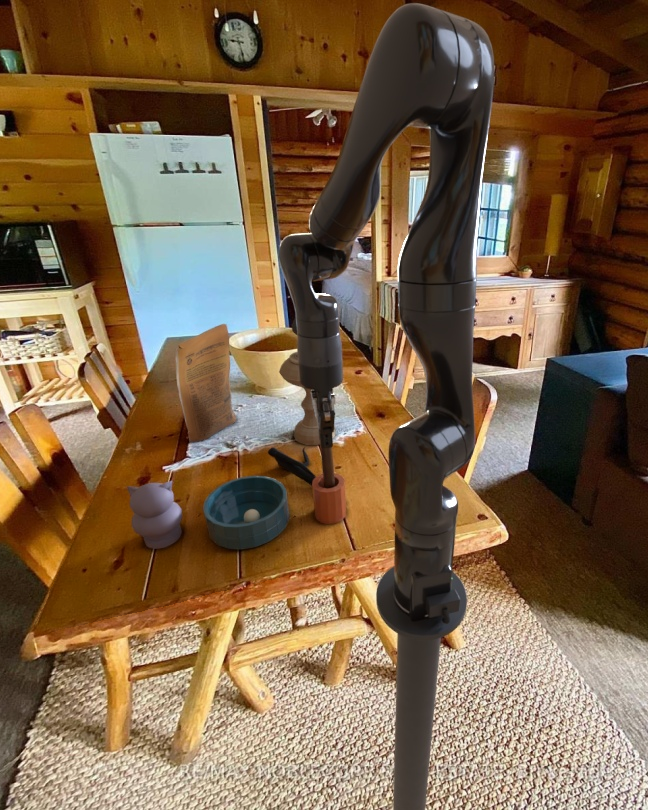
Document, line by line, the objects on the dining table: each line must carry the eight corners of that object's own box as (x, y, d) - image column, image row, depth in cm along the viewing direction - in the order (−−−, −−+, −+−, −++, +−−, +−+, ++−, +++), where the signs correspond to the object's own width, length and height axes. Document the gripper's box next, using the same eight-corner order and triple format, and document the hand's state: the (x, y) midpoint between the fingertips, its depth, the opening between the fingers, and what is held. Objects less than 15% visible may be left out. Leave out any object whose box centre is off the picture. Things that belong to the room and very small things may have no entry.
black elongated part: (364, 466, 94) (290, 422, 108) (336, 494, 90) (262, 445, 103) (370, 488, 100) (299, 444, 113) (344, 516, 95) (273, 467, 109)
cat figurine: (132, 555, 80) (114, 503, 74) (144, 526, 87) (128, 476, 81) (183, 548, 82) (169, 496, 76) (190, 519, 89) (178, 470, 83)
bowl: (291, 543, 83) (288, 518, 80) (204, 558, 80) (198, 533, 77) (287, 493, 96) (285, 471, 94) (213, 504, 93) (208, 481, 90)
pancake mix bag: (250, 417, 127) (236, 323, 115) (198, 449, 112) (175, 344, 99) (232, 412, 130) (216, 319, 117) (179, 442, 115) (154, 339, 102)
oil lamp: (354, 434, 120) (349, 285, 102) (309, 456, 110) (295, 295, 92) (319, 416, 129) (309, 276, 111) (275, 434, 119) (256, 284, 101)
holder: (348, 521, 89) (347, 489, 85) (316, 526, 87) (313, 494, 84) (343, 501, 94) (342, 470, 91) (313, 506, 93) (310, 475, 89)
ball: (239, 517, 85) (246, 530, 85) (254, 511, 85) (260, 524, 86) (242, 509, 87) (249, 522, 88) (257, 504, 88) (263, 516, 88)
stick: (337, 508, 89) (330, 422, 80) (326, 510, 89) (318, 423, 80) (335, 501, 91) (329, 416, 82) (325, 503, 91) (317, 418, 82)
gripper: (348, 370, 70) (351, 460, 78) (336, 343, 82) (340, 423, 90) (300, 374, 69) (309, 466, 76) (295, 345, 81) (303, 428, 88)
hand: (325, 442), depth 83 cm, fingers closed on stick, 2 cm apart
